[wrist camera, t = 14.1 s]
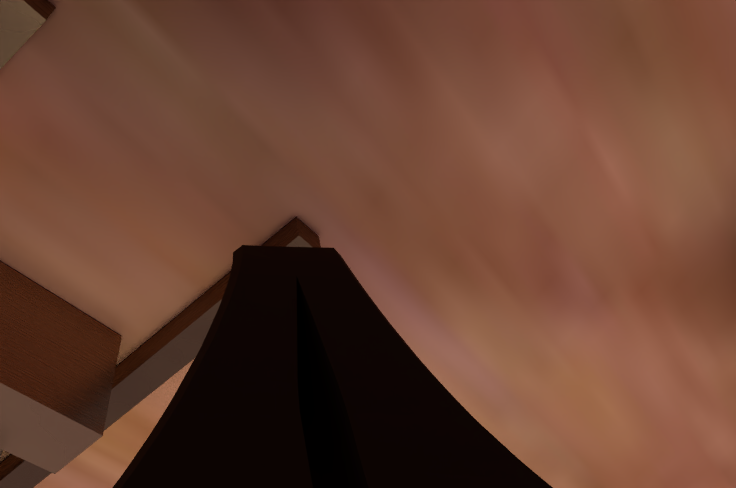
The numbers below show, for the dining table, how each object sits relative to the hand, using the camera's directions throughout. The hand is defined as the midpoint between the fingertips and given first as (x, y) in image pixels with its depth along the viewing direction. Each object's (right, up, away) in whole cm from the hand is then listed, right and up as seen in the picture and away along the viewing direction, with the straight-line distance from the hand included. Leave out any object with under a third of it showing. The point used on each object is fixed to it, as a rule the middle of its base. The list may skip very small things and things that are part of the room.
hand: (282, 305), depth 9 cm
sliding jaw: (-10, -1, +11) cm, 14 cm away
